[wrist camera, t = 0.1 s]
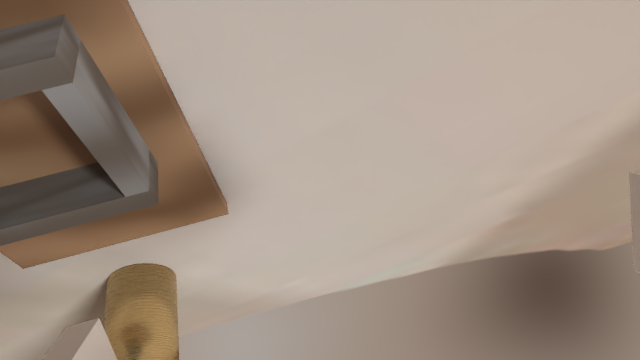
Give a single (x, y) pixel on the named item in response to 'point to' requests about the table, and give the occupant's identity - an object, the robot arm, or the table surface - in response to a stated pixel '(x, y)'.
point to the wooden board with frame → (90, 134)
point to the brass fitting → (142, 313)
